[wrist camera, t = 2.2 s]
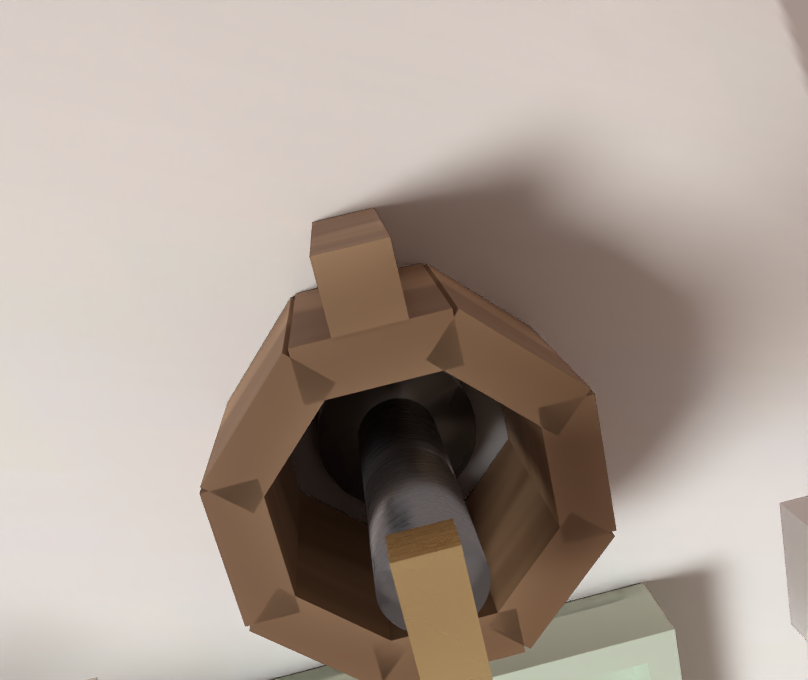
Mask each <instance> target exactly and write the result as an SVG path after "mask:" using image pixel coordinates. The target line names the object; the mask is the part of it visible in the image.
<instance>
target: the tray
mask: <svg viewBox="0 0 808 680" xmlns="http://www.w3.org/2000/svg"><path fill="white" fill-rule="evenodd" d="M524 648H525V652H524V653H520V654H517V655H513V656H509V657H505V658H502V659H498V660H494V661H490V662H489V666H490V670H491V674H492V679H493V680H682V676H681V669H680V662H679V655H678V648H677V641H676V633H675V629H674V627H673V626H672V624H671V623H670V621H669V620H668V618H667V617H666V615H665V614H664V613H663V611H662V610H661V608H660V607H659V605H658V604H657V602H656V601H655V599H654V598H653V597H652V595H651V594H650V592H649V591H648V589H647V588H646V586H645V585H644V583H640V584H637V585H633V586H629V587H625V588H621V589H617V590H614V591H610V592H606V593H602V594H598V595H594V596H591V597H587V598H583V599H579V600H575V601H572V602H568V603H565V604H564V605H563V606H562V608H561V609H560V610H559V612H558V613H557V614H556V616H555V617H554V618H553V620H552V621H551V622H550V624H549V625H548V626H547V628H546V629H545V630H544V632H543V633H542V634H541V636H540V637H539V638H538V640H537V641H536V642H535V644H534V645H533V646H532V648H531V649H530V648H528V647H526V646H524ZM273 680H358V679H356V678H354V677H351V676H349V675H347V674H345V673H342V672H340V671H338V670H336V669H334V668H331V667H329V666H323V667H319V668H316V669H312V670H308V671H304V672H300V673H296V674H293V675H289V676H285V677H281V678H277V679H273Z"/></svg>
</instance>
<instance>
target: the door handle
mask: <svg viewBox="0 0 808 680" xmlns="http://www.w3.org/2000/svg"><path fill="white" fill-rule="evenodd" d="M475 438H476V422H475V416H474V412H473V409H472V406H471V404H470V401H469V399H468V397H467V395H466V393H465V391H464V389H463V388H462V386H461V385H460V383H459V381H458V380H457V379H456V378H455V377H454V376H452V375H451V374H449V373H447V372H446V371H440V372H436V373H432V374H428V375H424V376H420V377H416V378H412V379H408V380H404V381H400V382H396V383H392V384H388V385H384V386H380V387H376V388H372V389H368V390H364V391H360V392H356V393H352V394H348V395H344V396H340V397H336V398H332V399H328V400H325V401H324V402H323V404H322V405H321V407H320V412H319V416H318V446H319V451H320V456H321V458H322V461H323V464H324V466H325V468H326V469H327V471H328V473H329V474H330V476H331V477H332V478H333V480H334V481H335V482H336V483H337V484H338V485H339V486H340V487H341V488H342V489H344V490H345V491H346V492H347V493H349V494H351V495H352V496H354V497H356V498H358V499H360V500H362V501H364V502H365V505H366V514H367V522H368V531H369V540H370V549H371V558H372V566H373V575H374V584H375V593H376V598H377V602H378V604H379V607H380V609H381V610H382V612H383V613H384V615H385V616H386V617H387V618H388V619H389V620H390V621H391V622H392V623H393V624H395V625H396V626H398V627H399V628H401V629H403V630H406V631H407V632H408V635H409V639H410V643H411V647H412V650H413V654H414V658H415V662H416V665H417V669H418V673H419V677H420V680H493V679H492V674H491V670H490V666H489V661H488V657H487V653H486V648H485V644H484V640H483V635H482V631H481V627H480V623H479V618H478V614H477V613H478V612H479V611H480V610H481V608H482V607H483V605H484V603H485V602H486V599H487V597H488V594H489V591H490V585H491V575H490V569H489V566H488V563H487V560H486V558H485V555H484V552H483V550H482V547H481V544H480V542H479V539H478V536H477V533H476V531H475V528H474V525H473V523H472V520H471V517H470V515H469V512H468V509H467V507H466V504H465V501H464V498H463V496H462V493H461V490H460V488H459V485H458V482H457V480H456V479H457V478H458V477H459V476H460V474H461V473H462V472H463V470H464V469H465V467H466V465H467V464H468V462H469V459H470V457H471V455H472V452H473V448H474V445H475Z"/></svg>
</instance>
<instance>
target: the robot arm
mask: <svg viewBox="0 0 808 680" xmlns="http://www.w3.org/2000/svg"><path fill="white" fill-rule="evenodd" d="M780 513H781V523H782V534H783V544H784V555H785V566H786V576H787V587H788V597H789V608H790V619H791V625H792V626H793V627H794V628H795V629H796V630H797V631H798V632H799V633H800V634H801V635H802V636H803V637H804V639H805V640H806V641H807V642H808V496H805V497H801V498H797V499H793V500H789V501H785V502H781V503H780ZM88 680H98V679H97V677H96V678H92V679H88Z"/></svg>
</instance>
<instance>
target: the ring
mask: <svg viewBox="0 0 808 680" xmlns="http://www.w3.org/2000/svg"><path fill="white" fill-rule="evenodd" d="M310 260H311V264H312V268H313V271H314V275H315V279H316V283H317V286H318V288H317V289H313V290H309V291H305V292H301V293H297V294H295V299H294V298H292V297H291V298H290V300H289V301H288V303H287V305H286V306H285V308H284V310H283V311H282V313H281V314H280V316H279V318H278V319H277V321H276V323H275V324H274V326H273V328H272V329H271V331H270V333H269V334H268V336H267V338H266V339H265V341H264V343H263V344H262V346H261V348H260V349H259V351H258V353H257V354H256V356H255V358H254V359H253V361H252V363H251V364H250V366H249V368H248V369H247V371H246V373H245V374H244V376H243V378H242V379H241V381H240V383H239V384H238V386H237V388H236V389H235V391H234V393H233V394H232V396H231V398H230V399H229V401H228V403H227V406H226V409H225V412H224V415H223V418H222V421H221V424H220V428H219V431H218V434H217V437H216V440H215V443H214V446H213V449H212V452H211V455H210V458H209V462H208V465H207V468H206V471H205V474H204V477H203V480H202V483H201V486H200V487H201V491H200V496H201V499H202V502H203V505H204V508H205V511H206V514H207V517H208V520H209V522H210V525H211V528H212V531H213V534H214V537H215V540H216V543H217V546H218V549H219V552H220V554H221V557H222V560H223V563H224V566H225V569H226V572H227V575H228V578H229V581H230V584H231V586H232V589H233V592H234V595H235V598H236V601H237V604H238V607H239V610H240V613H241V615H242V618H243V621H244V624H245V626H249V625H250V630H249V631H251V632H253V633H255V634H258V635H260V636H262V637H264V638H267V639H269V640H271V641H273V642H275V643H278V644H280V645H282V646H284V647H287V648H289V649H291V650H293V651H296V652H298V653H300V654H302V655H305V656H307V657H309V658H311V659H313V660H316V661H318V662H320V663H322V664H325V665H327V666H329V667H331V668H334V669H336V670H338V671H340V672H342V673H345V674H347V675H349V676H351V677H354V678H356V679H358V680H420V677H419V673H418V669H417V665H416V662H415V658H414V654H413V650H412V647H411V643H410V639H409V635H408V632H407V631H406V630H403V629H401V628H399V627H398V626H396V625H395V624H393V623H392V622H391V621H390V620H389V619H388V618H387V617H386V616H385V615H384V613H383V612H382V610H381V609H380V607H379V604H378V602H377V598H376V593H375V584H374V575H373V566H372V558H371V549H370V540H369V531H368V525H366V524H364V523H362V522H360V521H359V520H357V519H355V518H353V517H351V516H349V515H347V514H345V513H343V512H341V511H339V510H337V509H335V508H333V507H331V506H329V505H327V504H325V503H323V502H321V501H319V500H317V499H315V498H313V497H311V496H309V495H307V494H305V493H303V492H301V491H300V487H299V484H298V481H297V477H296V474H295V471H294V467H293V464H292V461H291V457H290V455H291V453H292V451H293V450H294V448H295V447H296V445H297V443H298V442H299V440H300V439H301V437H302V436H303V434H304V432H305V431H306V429H307V428H308V426H309V424H310V423H311V421H312V420H313V418H314V416H315V415H316V413H317V412H318V410H319V409H320V407H321V405H322V404H323V402H324V401H325V400H328V399H332V398H336V397H340V396H344V395H348V394H352V393H356V392H360V391H364V390H368V389H372V388H376V387H380V386H384V385H388V384H392V383H396V382H400V381H404V380H408V379H412V378H416V377H420V376H424V375H428V374H432V373H436V372H440V371H446V372H447V373H449V374H451V375H452V376H454V377H456V378H458V379H459V380H461V381H463V382H465V383H466V384H468V385H470V386H472V387H473V388H475V389H477V390H479V391H480V392H482V393H484V394H485V395H487V396H489V397H491V398H492V399H494V400H496V401H498V402H499V403H501V404H502V408H503V413H504V418H505V423H506V428H507V433H508V438H509V439H508V440H507V442H506V443H505V445H504V446H503V447H502V449H501V450H500V452H499V453H498V455H497V456H496V458H495V459H494V460H493V462H492V463H491V465H490V466H489V468H488V469H487V471H486V472H485V473H484V475H483V476H482V478H481V479H480V481H479V482H478V484H477V485H476V486H475V488H474V489H473V491H472V492H471V494H470V495H469V496H468V498H467V499H466V501H465V504H466V507H467V509H468V512H469V515H470V517H471V520H472V523H473V525H474V528H475V531H476V533H477V536H478V539H479V542H480V544H481V547H482V550H483V552H484V555H485V558H486V560H487V563H488V566H489V569H490V575H491V585H490V591H489V594H488V597H487V599H486V602H485V603H484V605H483V607H482V608H481V610H480V611H479V612H478V613H477V614H478V618H479V623H480V627H481V631H482V635H483V640H484V644H485V648H486V653H487V657H488V661H489V662H490V661H494V660H498V659H502V658H505V657H509V656H513V655H517V654H520V653H524V652H525V648H524V646H526V647H528V648H530V649H531V648H532V646H533V645H534V644H535V642H536V641H537V640H538V638H539V637H540V636H541V634H542V633H543V632H544V630H545V629H546V628H547V626H548V625H549V624H550V622H551V621H552V620H553V618H554V617H555V616H556V614H557V613H558V612H559V610H560V609H561V608H562V606H563V605H564V604H565V602H566V601H567V600H568V598H569V597H570V596H571V594H572V593H573V592H574V590H575V589H576V588H577V586H578V585H579V583H580V582H581V581H582V579H583V578H584V577H585V575H586V574H587V573H588V571H589V570H590V569H591V567H592V566H593V565H594V563H595V562H596V561H597V559H598V558H599V557H600V555H601V554H602V553H603V551H604V550H605V549H606V547H607V546H608V545H609V543H610V542H611V541H612V539H613V538H614V537H615V536H614V534H613V533H612V531H616V525H615V518H614V512H613V506H612V500H611V493H610V487H609V481H608V475H607V468H606V462H605V456H604V450H603V443H602V437H601V431H600V424H599V418H598V412H597V406H596V399H595V394H594V393H593V392H592V391H591V388H590V387H589V386H588V385H587V384H586V383H585V382H584V381H583V380H582V379H581V378H580V377H579V376H578V375H577V374H576V373H575V372H574V371H573V370H572V369H571V368H570V367H569V366H568V365H567V364H566V363H565V362H564V361H563V360H562V359H561V358H560V357H559V356H558V354H557V353H556V352H555V351H554V350H553V349H552V348H551V347H550V346H549V345H548V344H547V343H546V342H545V341H544V340H543V339H542V338H541V337H540V336H539V335H538V334H537V333H536V332H535V331H534V330H533V329H532V328H531V327H530V326H528V325H526V324H525V323H523V322H521V321H520V320H518V319H516V318H515V317H513V316H512V315H510V314H508V313H507V312H505V311H503V310H502V309H500V308H498V307H497V306H495V305H494V304H492V303H490V302H489V301H487V300H485V299H484V298H482V297H481V296H479V295H477V294H476V293H474V292H472V291H471V290H469V289H467V288H466V287H464V286H463V285H461V284H459V283H458V282H456V281H454V280H453V279H451V278H449V277H448V276H446V275H445V274H443V273H441V272H440V271H438V270H436V269H435V268H433V267H432V266H430V265H428V264H427V265H426V266H425V267H424V266H423V264H422V263H419V264H415V265H411V266H407V267H403V268H399V269H397V264H396V260H395V256H394V251H393V247H392V243H391V238H390V236H389V234H388V232H387V230H386V229H385V227H384V225H383V223H382V222H381V220H380V218H379V216H378V214H377V213H376V211H375V209H374V208H370V209H366V210H361V211H357V212H353V213H349V214H345V215H341V216H336V217H332V218H328V219H324V220H320V221H316V222H312V232H311V245H310Z"/></svg>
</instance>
